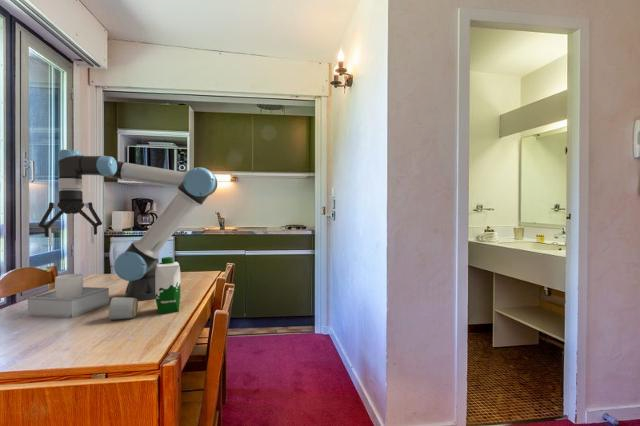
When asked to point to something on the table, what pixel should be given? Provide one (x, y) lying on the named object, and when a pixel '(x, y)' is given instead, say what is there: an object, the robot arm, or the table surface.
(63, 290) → the cup
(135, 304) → the grey cylinder
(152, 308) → the table surface
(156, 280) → the milk carton
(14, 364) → the table surface
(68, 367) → the table surface
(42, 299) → the crate
